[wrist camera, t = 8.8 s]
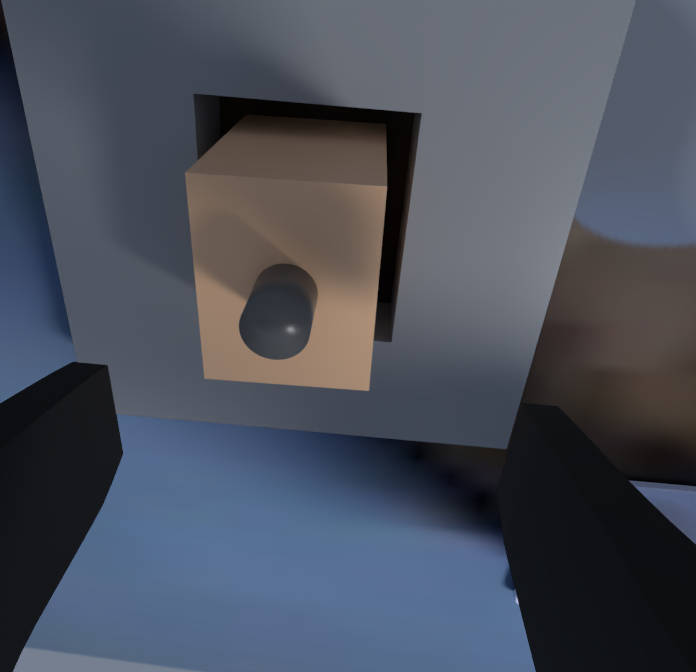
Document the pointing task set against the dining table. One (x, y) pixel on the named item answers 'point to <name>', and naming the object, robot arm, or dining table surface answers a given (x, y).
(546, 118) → the socket
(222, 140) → the plug
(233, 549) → the dining table surface
